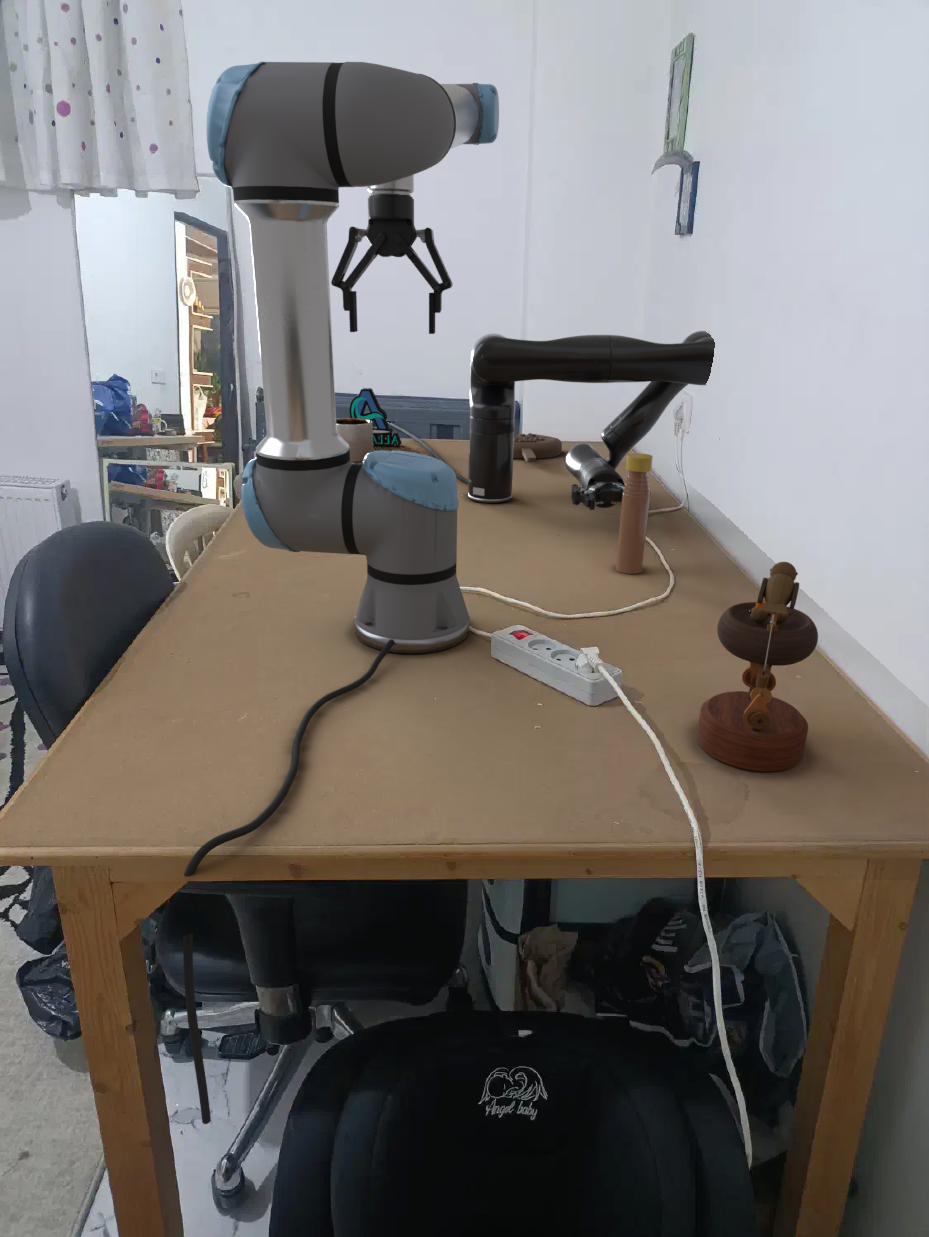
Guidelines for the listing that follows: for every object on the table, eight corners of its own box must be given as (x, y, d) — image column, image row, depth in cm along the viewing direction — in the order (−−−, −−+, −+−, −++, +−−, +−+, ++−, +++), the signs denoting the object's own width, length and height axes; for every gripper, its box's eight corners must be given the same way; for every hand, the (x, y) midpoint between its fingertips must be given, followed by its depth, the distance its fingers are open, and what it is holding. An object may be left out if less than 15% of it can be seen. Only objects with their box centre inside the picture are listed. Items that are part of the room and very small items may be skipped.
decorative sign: (401, 444, 234) (401, 388, 228) (400, 446, 231) (399, 390, 226) (333, 442, 235) (331, 387, 229) (332, 444, 232) (329, 388, 227)
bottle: (613, 572, 137) (623, 459, 130) (618, 564, 141) (628, 454, 134) (639, 575, 136) (651, 462, 129) (644, 567, 139) (655, 456, 132)
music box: (826, 784, 80) (847, 586, 73) (707, 784, 81) (715, 589, 74) (787, 708, 94) (802, 535, 87) (686, 708, 95) (692, 539, 88)
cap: (623, 470, 131) (624, 456, 130) (628, 465, 134) (629, 452, 133) (649, 473, 129) (650, 459, 129) (652, 468, 133) (654, 454, 132)
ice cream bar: (489, 468, 207) (489, 450, 206) (481, 446, 233) (482, 430, 232) (574, 468, 208) (575, 451, 207) (557, 446, 234) (558, 431, 233)
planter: (327, 456, 217) (325, 418, 214) (369, 454, 220) (368, 417, 217) (334, 465, 208) (332, 425, 204) (377, 463, 211) (376, 424, 207)
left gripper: (469, 197, 140) (466, 333, 148) (320, 196, 142) (326, 329, 150) (465, 193, 133) (463, 335, 141) (309, 191, 135) (315, 332, 143)
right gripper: (566, 464, 165) (578, 483, 150) (639, 465, 165) (658, 484, 150) (564, 502, 168) (575, 524, 153) (635, 503, 168) (654, 525, 153)
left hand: (392, 332), depth 145 cm, fingers open, 13 cm apart
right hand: (616, 504), depth 152 cm, fingers open, 8 cm apart
